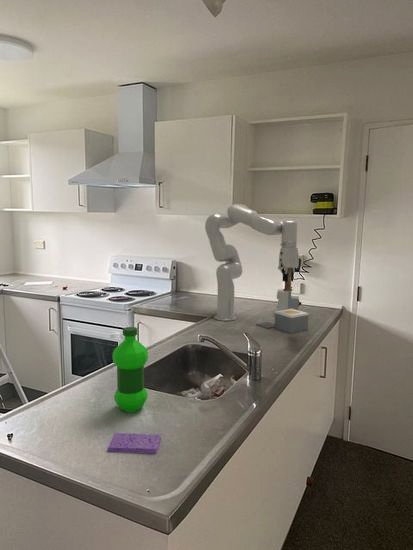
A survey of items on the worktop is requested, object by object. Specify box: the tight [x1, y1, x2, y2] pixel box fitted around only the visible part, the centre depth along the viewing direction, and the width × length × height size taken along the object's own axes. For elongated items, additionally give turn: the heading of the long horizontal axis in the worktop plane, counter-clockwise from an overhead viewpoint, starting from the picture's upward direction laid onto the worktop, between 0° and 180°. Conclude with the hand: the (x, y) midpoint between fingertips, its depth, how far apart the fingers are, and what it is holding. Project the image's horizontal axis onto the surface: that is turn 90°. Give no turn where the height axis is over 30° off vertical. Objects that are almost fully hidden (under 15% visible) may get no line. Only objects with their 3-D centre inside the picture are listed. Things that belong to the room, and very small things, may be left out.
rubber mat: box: [255, 321, 275, 330], centre depth 225 cm, size 9×9×1 cm
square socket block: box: [274, 309, 309, 334], centre depth 218 cm, size 12×12×9 cm
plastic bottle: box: [111, 326, 149, 413], centre depth 126 cm, size 10×10×25 cm
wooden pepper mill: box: [282, 268, 293, 293], centre depth 214 cm, size 4×4×14 cm
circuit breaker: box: [275, 288, 302, 311], centre depth 247 cm, size 8×14×15 cm, turn 78°
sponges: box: [107, 432, 162, 454], centre depth 108 cm, size 7×13×2 cm, turn 87°
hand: (287, 280), depth 215 cm, fingers closed on wooden pepper mill, 3 cm apart
